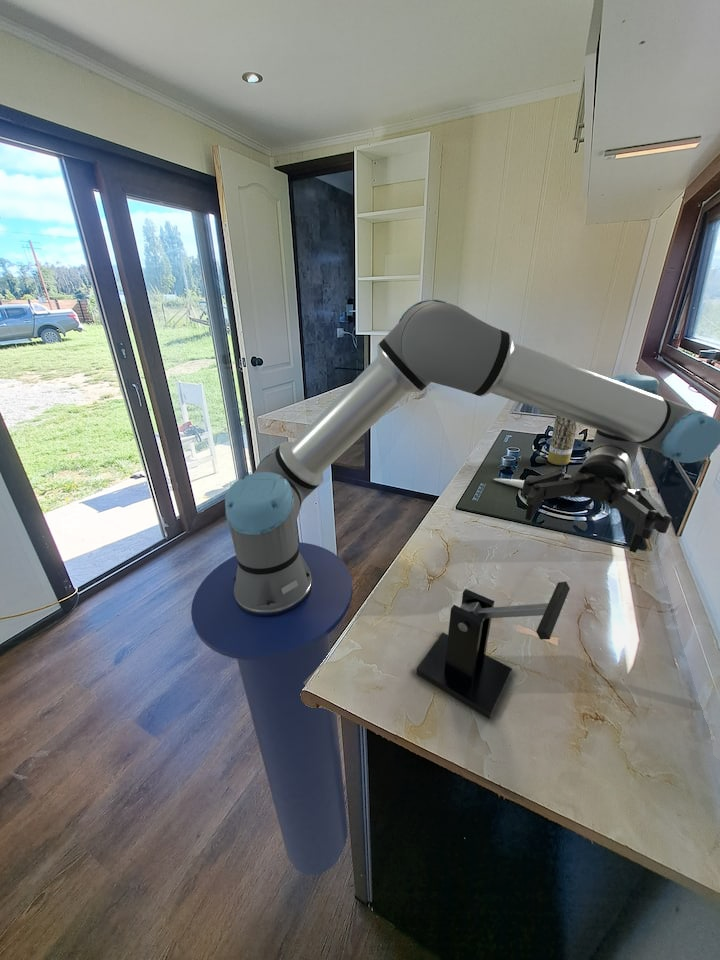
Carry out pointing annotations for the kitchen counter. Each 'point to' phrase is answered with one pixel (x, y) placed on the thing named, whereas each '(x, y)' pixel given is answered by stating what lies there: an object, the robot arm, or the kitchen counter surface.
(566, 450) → the brown bark cylinder
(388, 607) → the kitchen counter surface
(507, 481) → the unicorn horn
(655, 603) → the kitchen counter surface
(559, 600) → the lever
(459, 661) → the bracket
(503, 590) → the kitchen counter surface
